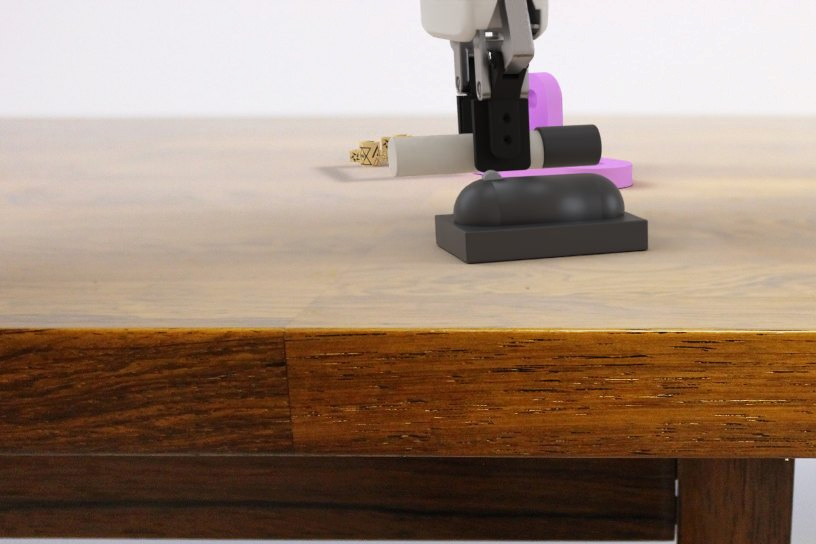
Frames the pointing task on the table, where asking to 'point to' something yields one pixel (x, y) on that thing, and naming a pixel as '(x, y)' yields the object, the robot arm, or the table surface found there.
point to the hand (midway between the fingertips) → (495, 164)
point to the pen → (458, 151)
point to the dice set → (372, 152)
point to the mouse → (539, 218)
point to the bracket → (550, 113)
